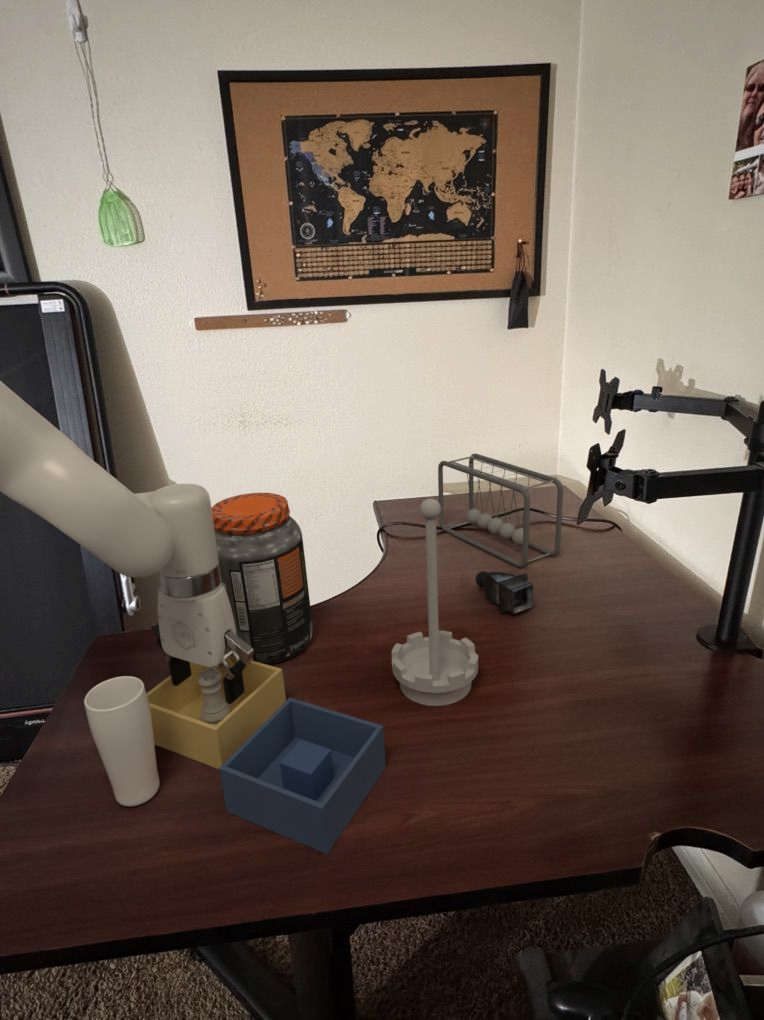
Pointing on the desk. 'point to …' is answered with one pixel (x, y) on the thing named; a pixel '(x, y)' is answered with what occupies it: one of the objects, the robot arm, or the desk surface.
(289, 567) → the supplement tub
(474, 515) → the newton's cradle
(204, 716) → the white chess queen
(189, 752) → the yellow bin
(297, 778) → the blue block
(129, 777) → the drinking glass
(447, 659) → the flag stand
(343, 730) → the slate bin
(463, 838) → the desk surface
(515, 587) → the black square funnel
